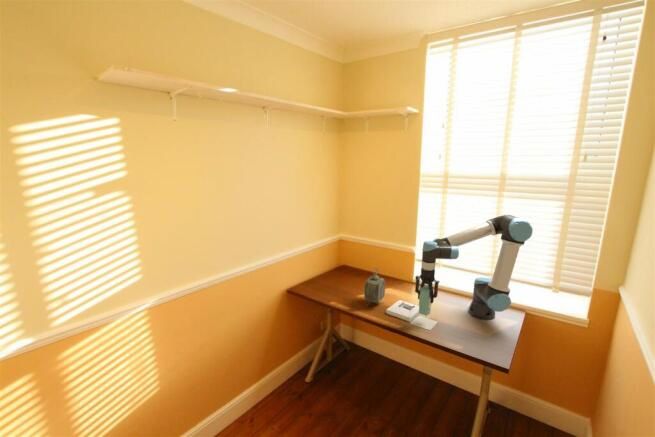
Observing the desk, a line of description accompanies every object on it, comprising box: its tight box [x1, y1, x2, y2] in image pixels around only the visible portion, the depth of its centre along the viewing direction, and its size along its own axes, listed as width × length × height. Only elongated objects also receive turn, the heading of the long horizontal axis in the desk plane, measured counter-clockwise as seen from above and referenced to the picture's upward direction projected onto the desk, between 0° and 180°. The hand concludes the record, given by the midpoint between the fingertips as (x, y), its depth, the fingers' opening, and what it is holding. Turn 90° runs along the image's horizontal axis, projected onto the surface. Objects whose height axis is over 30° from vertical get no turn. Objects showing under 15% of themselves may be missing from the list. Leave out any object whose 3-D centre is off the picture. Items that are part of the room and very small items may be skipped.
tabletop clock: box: [363, 267, 386, 307], centre depth 207 cm, size 14×9×25 cm, turn 149°
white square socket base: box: [385, 299, 420, 323], centre depth 199 cm, size 16×18×3 cm
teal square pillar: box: [418, 284, 432, 317], centre depth 184 cm, size 6×6×16 cm
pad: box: [409, 315, 438, 331], centre depth 186 cm, size 12×12×1 cm
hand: (425, 306), depth 184 cm, fingers closed on teal square pillar, 5 cm apart
